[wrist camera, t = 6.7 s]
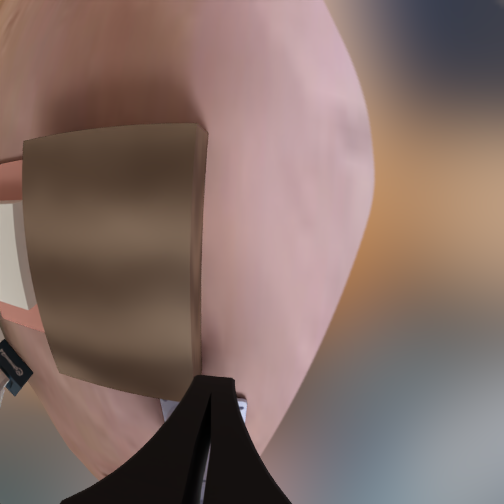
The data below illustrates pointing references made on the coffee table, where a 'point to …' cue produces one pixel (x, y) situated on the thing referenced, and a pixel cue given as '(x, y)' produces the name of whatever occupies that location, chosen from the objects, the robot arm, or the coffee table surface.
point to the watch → (12, 370)
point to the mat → (10, 188)
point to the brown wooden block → (119, 252)
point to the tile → (14, 257)
